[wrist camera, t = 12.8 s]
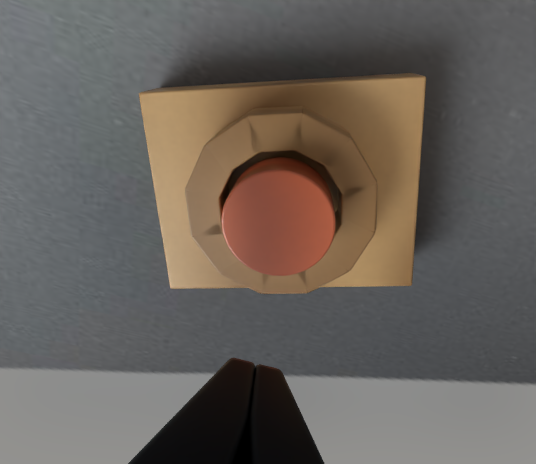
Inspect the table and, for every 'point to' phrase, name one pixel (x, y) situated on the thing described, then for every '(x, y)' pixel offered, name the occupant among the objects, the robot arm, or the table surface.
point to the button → (279, 217)
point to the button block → (296, 147)
